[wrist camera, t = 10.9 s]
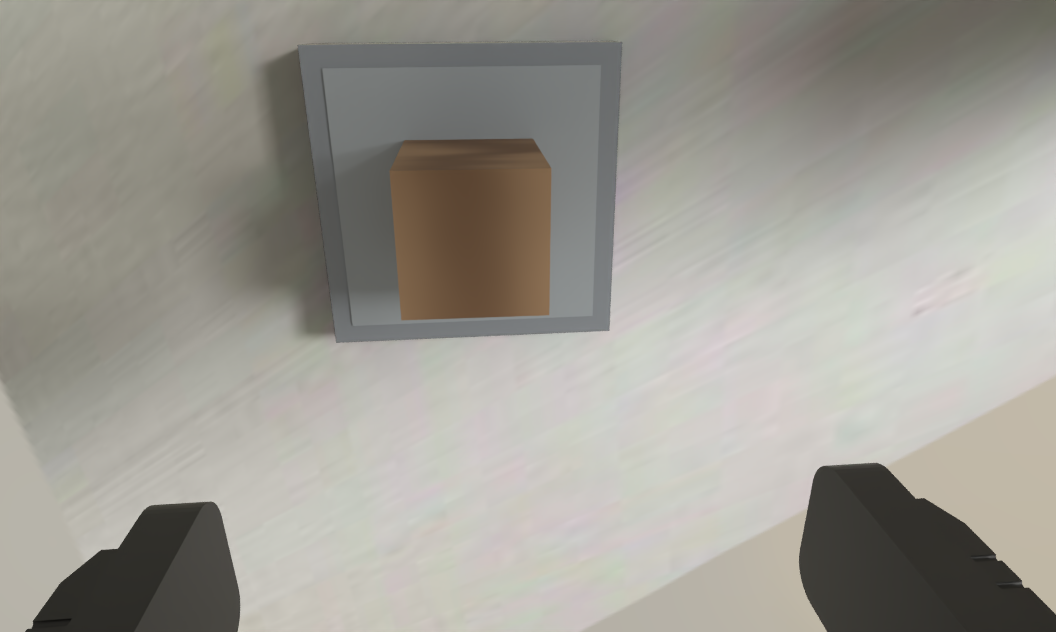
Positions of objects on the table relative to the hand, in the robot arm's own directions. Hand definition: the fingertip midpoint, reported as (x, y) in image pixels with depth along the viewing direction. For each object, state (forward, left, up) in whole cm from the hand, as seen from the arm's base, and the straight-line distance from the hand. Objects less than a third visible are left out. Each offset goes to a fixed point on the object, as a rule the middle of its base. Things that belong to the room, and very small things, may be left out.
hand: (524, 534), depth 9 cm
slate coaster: (+1, 0, -22) cm, 22 cm away
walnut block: (+1, 0, -20) cm, 20 cm away
